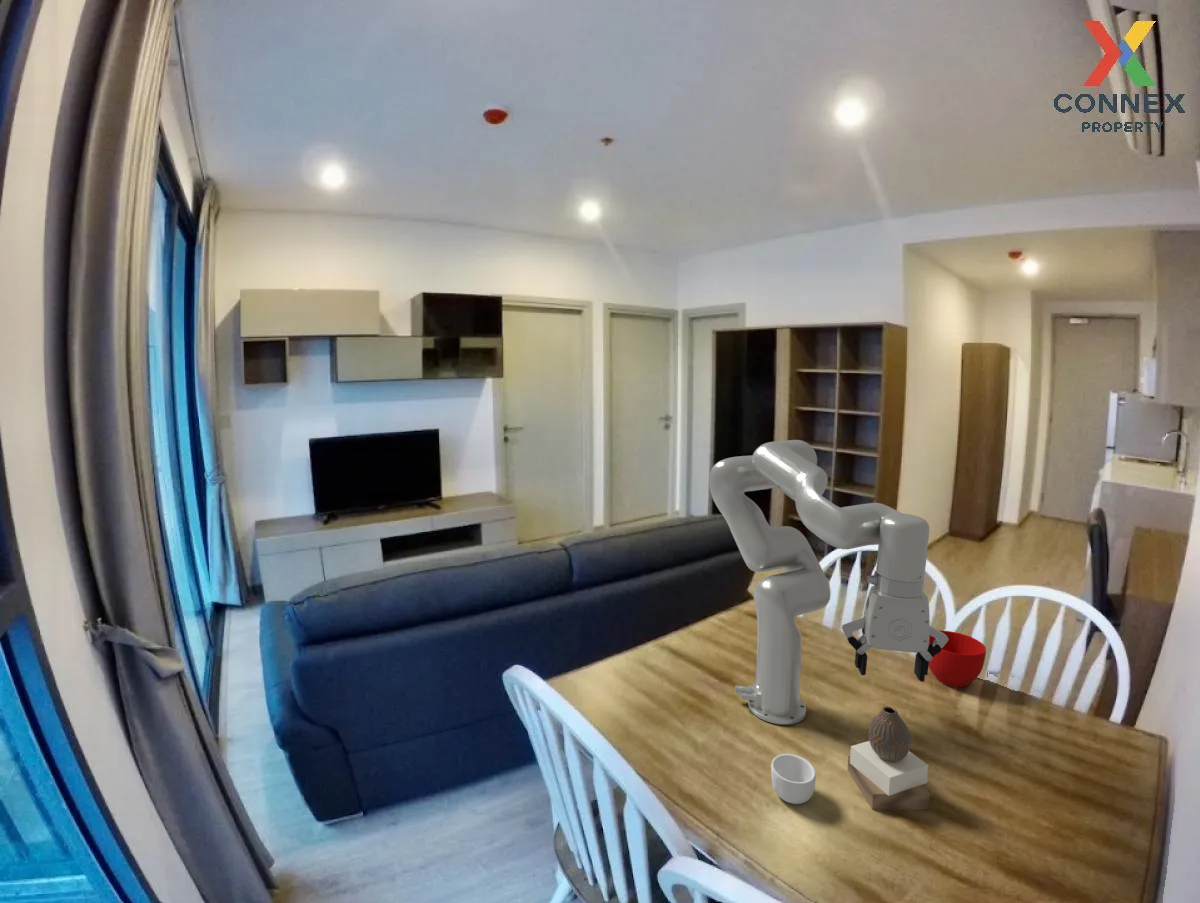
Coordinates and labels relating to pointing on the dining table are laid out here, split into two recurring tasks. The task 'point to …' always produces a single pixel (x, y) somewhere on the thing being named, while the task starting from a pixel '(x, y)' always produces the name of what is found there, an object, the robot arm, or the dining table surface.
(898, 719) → the vase
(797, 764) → the teacup
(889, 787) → the top block
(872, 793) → the base block
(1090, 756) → the dining table surface
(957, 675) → the red rounded bowl
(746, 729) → the dining table surface
